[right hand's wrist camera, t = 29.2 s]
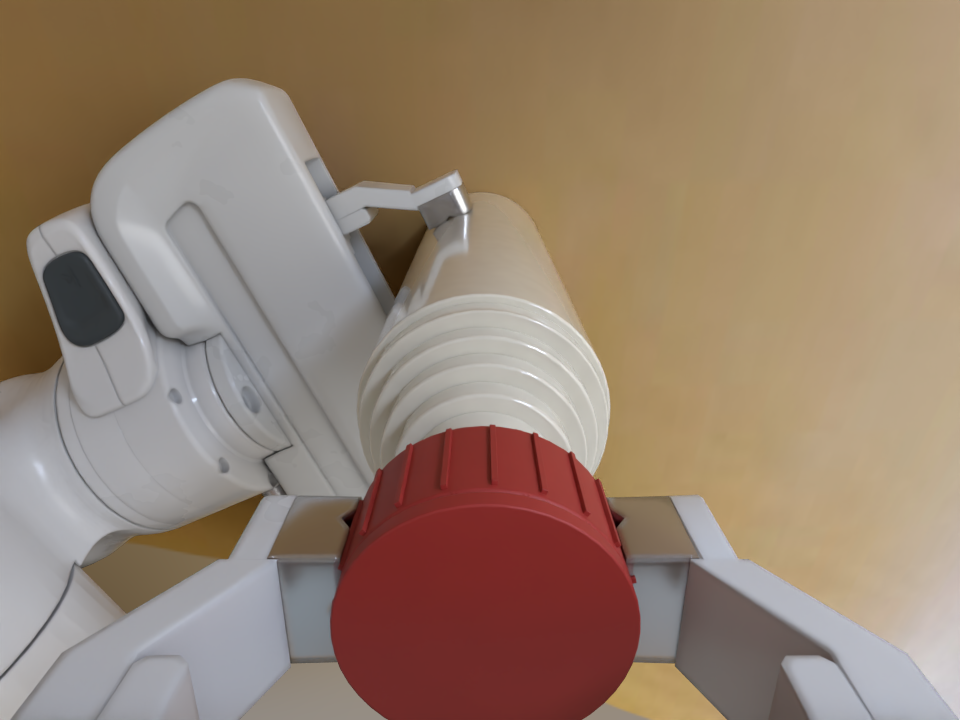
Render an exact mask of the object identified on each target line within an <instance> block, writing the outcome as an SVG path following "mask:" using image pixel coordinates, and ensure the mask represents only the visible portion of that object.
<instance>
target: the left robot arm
mask: <svg viewBox="0 0 960 720" xmlns="http://www.w3.org/2000/svg"><path fill="white" fill-rule="evenodd" d="M472 206H473V204H472V202H471V199H470V197H469V195H468V192H467V190H466V188H465V185H464V183H463V182H462V179H461V177H460V174H459V172H458V170H457V169H456V170H454V171H451V172H448V173H446V174H444V175H442V176H440V177H438V178H436V179H434V180H432V181H430V182H428V183H426V184H423V185H421V186H419V187H417V188H415V187H414V185H405V184H395V183H385V182H374V181H362V182H360V183H358V184H356V185H354V186H352V187H350V188H348V189H346V190H344V191H341V192H339V191H338V189H337V187H336V185H335V183H334V181H333V179H332V177H331V175H330V173H329V172H328V170H327V168H326V166H325V164H324V162H323V160H322V158H321V156H320V154H319V153H318V151H317V149H316V147H315V145H314V143H313V141H312V139H311V137H310V135H309V134H308V132H307V130H306V128H305V126H304V124H303V122H302V120H301V118H300V116H299V115H298V113H297V111H296V109H295V107H294V105H293V103H292V101H291V99H290V98H289V96H288V95H287V93H286V92H285V91H283V90H282V89H280V88H278V87H275V86H273V85H270V84H267V83H264V82H261V81H257V80H253V79H248V78H234V79H229V80H225V81H222V82H220V83H217V84H215V85H213V86H211V87H210V88H208V89H206V90H204V91H202V92H200V93H199V94H197V95H195V96H194V97H192V98H191V99H189V100H187V101H186V102H184V103H182V104H181V105H179V106H178V107H176V108H175V109H173V110H172V111H170V112H169V113H167V114H166V115H164V116H163V117H161V118H160V119H159V120H157V121H156V122H155V123H153V124H152V125H150V126H149V127H148V128H146V129H145V130H144V131H142V132H141V133H140V134H139V135H137V136H136V137H135V138H134V139H132V140H131V141H130V142H128V143H127V144H126V145H125V146H124V147H122V148H121V149H120V150H119V151H118V152H117V153H116V154H115V155H113V156H112V157H111V158H110V159H109V160H108V162H107V163H106V164H105V165H104V166H103V168H102V169H101V171H100V172H99V174H98V176H97V177H96V179H95V182H94V184H93V187H92V192H91V198H90V203H88V204H85V205H82V206H79V207H76V208H74V209H71V210H69V211H66V212H64V213H62V214H60V215H58V216H56V217H54V218H52V219H50V220H48V221H46V222H44V223H43V224H41V225H39V226H37V227H36V228H35V229H33V230H32V231H31V232H30V234H29V235H28V238H27V253H28V257H29V260H30V263H31V266H32V269H33V271H34V274H35V276H36V279H37V281H38V284H39V287H40V289H41V292H42V295H43V297H44V300H45V303H46V305H47V308H48V311H49V314H50V317H51V320H52V323H53V325H54V329H55V332H56V335H57V338H58V341H59V344H60V348H61V352H62V355H63V356H62V357H61V358H60V359H59V360H58V361H57V362H56V363H55V364H54V365H53V366H52V367H51V368H50V369H48V370H47V371H44V372H42V373H34V374H27V375H22V376H17V377H13V378H10V379H7V380H4V381H2V382H0V720H10V719H11V718H12V717H13V715H14V714H15V713H16V711H17V710H18V709H19V707H20V706H21V705H22V704H23V702H24V701H25V700H26V698H27V697H28V696H29V695H30V693H31V692H32V691H33V689H34V688H35V687H36V685H37V684H38V683H39V682H40V680H41V679H42V678H43V676H44V675H45V674H46V673H47V671H48V670H49V669H50V667H51V666H52V665H53V663H54V662H55V661H56V660H57V658H58V657H59V656H60V654H61V653H62V652H64V651H65V650H67V649H69V648H70V647H72V646H74V645H75V644H77V643H79V642H80V641H82V640H84V639H85V638H87V637H89V636H90V635H92V634H94V633H95V632H97V631H99V630H101V629H102V628H104V627H106V626H107V625H109V624H111V623H112V622H114V621H116V620H117V619H119V618H121V617H122V616H124V615H126V613H125V612H124V611H123V610H122V609H121V608H120V607H119V606H118V605H117V604H116V603H115V602H114V601H113V600H112V599H111V598H110V597H109V596H108V595H107V594H106V593H105V592H104V591H103V590H102V589H101V588H100V587H99V586H98V585H97V584H96V583H95V582H94V581H93V580H92V579H91V578H90V577H89V576H88V575H87V574H86V573H85V572H84V571H83V570H82V569H81V568H83V567H86V566H88V565H91V564H93V563H95V562H97V561H99V560H101V559H103V558H105V557H107V556H109V555H110V554H112V553H113V552H115V551H116V550H117V549H118V548H120V547H121V546H122V545H123V544H125V543H126V542H127V541H128V540H129V539H130V538H132V537H134V536H137V535H148V534H157V533H163V532H167V531H170V530H174V529H177V528H180V527H182V526H184V525H187V524H189V523H191V522H194V521H196V520H199V519H201V518H204V517H206V516H208V515H211V514H213V513H216V512H218V511H220V510H223V509H225V508H227V507H229V506H232V505H235V504H237V503H239V502H242V501H244V500H247V499H249V498H251V497H254V496H256V495H259V494H262V496H263V497H266V496H268V495H297V496H300V495H303V496H352V497H362V499H364V497H365V495H366V493H367V491H368V489H369V487H370V485H371V484H372V482H373V481H374V477H375V476H374V475H373V473H372V471H371V469H370V468H369V466H368V463H367V461H366V458H365V456H364V453H363V449H362V445H361V441H360V434H359V428H358V421H357V411H356V410H357V394H358V389H359V384H360V380H361V377H362V374H363V371H364V368H365V366H366V363H367V361H368V359H369V357H370V354H371V352H372V350H373V348H374V345H375V343H376V341H377V339H378V336H379V334H380V332H381V330H382V328H383V325H384V323H385V321H386V319H387V316H388V314H389V312H390V310H391V307H392V305H393V303H394V301H395V297H394V295H393V293H392V291H391V289H390V287H389V286H388V284H387V282H386V280H385V278H384V276H383V274H382V272H381V270H380V268H379V267H378V265H377V263H376V261H375V259H374V257H373V255H372V253H371V251H370V249H369V248H368V246H367V244H366V242H365V240H364V238H363V236H362V234H361V232H360V230H359V228H361V227H363V226H365V225H367V224H369V223H370V222H371V221H372V220H373V219H374V218H375V217H376V216H377V215H378V212H379V210H378V208H388V209H402V210H415V211H418V210H419V211H420V213H421V215H422V217H423V219H424V221H425V223H426V225H427V227H428V229H429V230H431V229H433V228H435V227H437V226H439V225H441V224H443V223H444V222H446V221H447V219H448V217H449V216H450V217H456V216H460V215H463V214H465V213H467V212H469V211H470V210H471V209H472V208H473V207H472Z"/></svg>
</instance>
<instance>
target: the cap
mask: <svg viewBox="0 0 960 720" xmlns="http://www.w3.org/2000/svg"><path fill="white" fill-rule="evenodd" d="M620 546H621V543H620V540H619V537H618V534H617V530H616V527H615V524H614V521H613V518H612V515H611V512H610V509H609V506H608V502H607V499H606V496H605V493H604V490H603V487H602V484H601V482H600V480H599V479H597V480H595V479H594V478H593V476H592V475H591V474H590V472H589V471H588V470H587V469H586V468H585V467H584V466H583V465H582V464H581V463H580V462H579V461H578V460H577V459H576V456H575V454H574V453H573V452H572V451H570V452H569V453H568V452H567V451H566V450H564V449H562V448H561V447H559V446H557V445H556V444H554V443H552V442H550V441H548V440H546V439H544V438H541V437H539V435H538V434H537V433H534V432H533V434H531V433H528V432H524V431H521V430H517V429H511V428H505V427H496V425H491V424H490V426H475V427H463V428H457V429H453V430H452V429H451V428H449V429H446V431H445V432H442V433H439V434H436V435H433V436H430V437H428V438H426V439H424V440H421V441H419V442H417V443H415V444H413V445H412V444H411V443H410V444H408V445H407V446H406V450H404V451H402V452H401V453H399V454H398V455H397V456H396V457H395V458H394V459H392V460H391V461H390V462H389V463H388V464H387V465H386V466H385V467H384V468H383V469H380V468H379V469H378V470H377V471H376V474H375V477H374V481H373V482H372V484H371V485H370V487H369V489H368V491H367V493H366V495H365V497H364V499H363V500H360V501H359V504H358V507H357V511H356V513H355V515H354V517H353V520H352V524H351V527H350V534H349V537H348V540H347V543H346V546H345V549H344V552H343V555H342V559H341V562H340V563H339V566H338V570H341V571H342V572H341V576H340V579H339V582H338V586H337V589H336V592H335V596H334V599H333V601H332V607H331V616H330V634H331V641H332V645H333V650H334V654H335V657H336V659H337V662H338V664H339V667H340V669H341V671H342V673H343V674H344V676H345V678H346V679H347V681H348V683H349V684H350V685H351V687H352V688H353V689H354V690H355V692H356V693H357V694H358V695H359V696H360V697H361V698H362V699H363V700H364V701H365V702H366V703H367V704H368V705H369V706H370V707H371V708H372V709H374V710H375V711H376V712H378V713H379V714H380V715H382V716H383V717H384V718H386V719H388V720H582V719H584V718H585V717H587V716H588V715H590V714H591V713H593V712H594V711H595V710H596V709H597V708H599V707H600V706H601V705H602V704H604V703H605V702H606V701H607V699H608V698H609V697H610V696H611V695H612V694H613V693H614V692H615V691H616V690H617V688H618V687H619V686H620V684H621V683H622V681H623V680H624V679H625V677H626V675H627V673H628V671H629V669H630V667H631V666H632V663H633V661H634V658H635V655H636V652H637V649H638V644H639V638H640V628H641V616H640V610H639V604H638V599H637V596H636V593H635V590H634V587H633V584H634V583H637V582H636V578H635V576H634V577H630V574H629V571H628V568H627V565H626V562H625V559H624V556H623V553H622V550H621V547H620Z"/></svg>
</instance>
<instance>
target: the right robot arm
mask: <svg viewBox="0 0 960 720" xmlns="http://www.w3.org/2000/svg"><path fill="white" fill-rule="evenodd" d="M606 499H607V502H608V506H609V509H610V512H611V515H612V518H613V521H614V524H615V527H616V530H617V534H618V537H619V540H620V543H621V546H620V547H621V550H622V553H623V556H624V559H625V562H626V565H627V568H628V571H629V574H630V577H634V576H635V578H636V582H637V583H634V584H633V587H634V590H635V593H636V596H637V599H638V604H639V610H640V616H641V628H640V638H639V644H638V649H637V652H636V655H635V658H634V661H633V662H644V663H675V667H676V668H677V669H678V670H679V671H680V672H681V673H682V674H683V675H684V676H685V677H686V678H687V679H688V680H689V681H690V682H691V683H692V684H693V685H694V686H695V687H696V688H697V689H698V690H699V691H700V692H701V693H702V694H703V695H704V696H705V697H706V698H707V699H708V700H709V701H710V702H711V703H712V704H713V705H714V707H715V708H716V709H717V710H718V711H719V712H720V713H721V714H722V715H723V716H724V717H725V718H726V719H727V720H959V719H958V718H957V717H956V715H955V714H954V713H953V711H952V710H951V709H950V708H949V706H948V705H947V704H946V702H945V701H944V700H943V699H942V697H941V696H940V695H939V693H938V692H937V691H936V690H935V688H934V687H933V686H932V685H931V683H930V682H929V681H928V679H927V678H926V677H925V676H924V674H923V673H922V672H921V670H920V669H919V668H918V667H917V665H916V664H915V663H914V662H913V660H912V659H911V658H910V656H909V655H908V654H907V653H906V652H904V651H902V650H900V649H899V648H897V647H895V646H894V645H892V644H890V643H889V642H887V641H885V640H884V639H882V638H880V637H879V636H877V635H875V634H873V633H872V632H870V631H868V630H867V629H865V628H863V627H862V626H860V625H858V624H857V623H855V622H853V621H852V620H850V619H848V618H846V617H845V616H843V615H841V614H840V613H838V612H836V611H835V610H833V609H831V608H830V607H828V606H826V605H825V604H823V603H821V602H820V601H818V600H816V599H814V598H813V597H811V596H809V595H808V594H806V593H804V592H803V591H801V590H799V589H798V588H796V587H794V586H793V585H791V584H789V583H787V582H786V581H784V580H782V579H781V578H779V577H777V576H776V575H774V574H772V573H771V572H769V571H767V570H766V569H764V568H762V567H761V566H759V565H757V564H755V563H754V562H752V561H750V560H749V559H738V557H737V556H736V554H735V552H734V551H733V549H732V547H731V545H730V544H729V542H728V540H727V539H726V537H725V535H724V533H723V532H722V530H721V528H720V527H719V525H718V523H717V522H716V520H715V518H714V516H713V515H712V513H711V511H710V510H709V508H708V506H707V504H706V503H705V501H704V499H703V498H702V497H700V496H699V495H678V496H656V497H612V498H606ZM360 500H363V499H362V497H352V496H303V495H300V496H297V495H268V496H266V497H264V498H263V499H262V500H261V501H260V503H259V505H258V507H257V508H256V510H255V512H254V514H253V516H252V517H251V519H250V521H249V523H248V524H247V526H246V528H245V530H244V531H243V533H242V535H241V537H240V539H239V540H238V542H237V544H236V546H235V547H234V549H233V551H232V553H231V555H230V556H229V558H228V559H218V560H216V561H215V562H213V563H211V564H209V565H208V566H206V567H204V568H203V569H201V570H199V571H198V572H196V573H194V574H193V575H191V576H189V577H188V578H186V579H184V580H183V581H181V582H179V583H178V584H176V585H174V586H173V587H171V588H169V589H168V590H166V591H164V592H163V593H161V594H159V595H157V596H156V597H154V598H152V599H151V600H149V601H147V602H146V603H144V604H142V605H141V606H139V607H137V608H136V609H134V610H132V611H131V612H129V613H127V614H126V615H124V616H122V617H121V618H119V619H117V620H116V621H114V622H112V623H111V624H109V625H107V626H106V627H104V628H102V629H101V630H99V631H97V632H95V633H94V634H92V635H90V636H89V637H87V638H85V639H84V640H82V641H80V642H79V643H77V644H75V645H74V646H72V647H70V648H69V649H67V650H65V651H64V652H62V653H61V654H60V656H59V657H58V658H57V660H56V661H55V662H54V663H53V665H52V666H51V667H50V669H49V670H48V671H47V673H46V674H45V675H44V676H43V678H42V679H41V680H40V682H39V683H38V684H37V685H36V687H35V688H34V689H33V691H32V692H31V693H30V695H29V696H28V697H27V698H26V700H25V701H24V702H23V704H22V705H21V706H20V707H19V709H18V710H17V711H16V713H15V714H14V715H13V717H12V718H11V719H10V720H240V719H241V718H242V716H243V715H244V714H245V713H246V712H247V711H248V710H249V709H250V708H251V707H252V706H253V705H254V704H255V703H256V702H257V701H258V700H259V699H260V698H261V697H262V696H263V695H264V694H265V693H266V692H267V691H268V690H269V689H270V688H271V687H272V686H273V685H274V684H275V683H276V682H277V680H278V679H279V678H280V677H281V676H282V675H283V674H284V673H285V672H286V671H287V670H288V669H289V668H290V667H291V664H290V663H320V662H337V659H336V657H335V654H334V650H333V645H332V641H331V634H330V616H331V607H332V601H333V599H334V596H335V592H336V589H337V586H338V582H339V579H340V576H341V572H342V571H341V570H338V566H339V563H340V562H341V559H342V555H343V552H344V549H345V546H346V543H347V540H348V537H349V534H350V527H351V524H352V520H353V517H354V515H355V513H356V511H357V507H358V504H359V501H360Z"/></svg>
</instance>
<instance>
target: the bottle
mask: <svg viewBox="0 0 960 720" xmlns="http://www.w3.org/2000/svg"><path fill="white" fill-rule="evenodd" d="M468 195H469V197H470V199H471V202H472V204H473V206H472V207H473V208H472V209H471V210H470V211H469V212H467V213H465V214H463V215H460V216H456V217H450V216H449V217H448V219H447V221H446V222H444V223H443V224H441V225H439V226H437V227H435V228H433V229H431V230H429V229H428V227H427V229H426V232H425V234H424V236H423V238H422V241H421V243H420V245H419V247H418V249H417V252H416V254H415V256H414V258H413V261H412V263H411V265H410V267H409V270H408V272H407V274H406V276H405V278H404V281H403V283H402V285H401V287H400V290H399V292H398V294H397V296H396V299H395V301H394V303H393V305H392V307H391V310H390V312H389V314H388V316H387V319H386V321H385V323H384V325H383V328H382V330H381V332H380V334H379V336H378V339H377V341H376V343H375V345H374V348H373V350H372V352H371V354H370V357H369V359H368V361H367V363H366V366H365V368H364V371H363V374H362V377H361V380H360V384H359V389H358V394H357V410H356V411H357V421H358V428H359V434H360V441H361V445H362V449H363V453H364V456H365V458H366V461H367V463H368V466H369V468H370V469H371V471H372V473H373V475H374V476H375V474H376V471H377V470H378V469H379V468H380V469H383V468H384V467H385V466H386V465H387V464H388V463H389V462H390V461H391V460H392V459H394V458H395V457H396V456H397V455H398V454H399V453H401V452H402V451H404V450H406V446H407V445H408V444H410V443H411V444H412V445H413V444H415V443H417V442H419V441H421V440H424V439H426V438H428V437H430V436H433V435H436V434H439V433H442V432H445V431H446V429H449V428H451V429H452V430H453V429H457V428H463V427H475V426H490V424H491V425H496V427H505V428H511V429H517V430H521V431H524V432H528V433H531V434H533V432H534V433H537V434H538V435H539V437H541V438H544V439H546V440H548V441H550V442H552V443H554V444H556V445H557V446H559V447H561V448H562V449H564V450H566V451H567V452H568V453H569V452H570V451H572V452H573V453H574V454H575V456H576V459H577V460H578V461H579V462H580V463H581V464H582V465H583V466H584V467H585V468H586V469H587V470H588V471H589V472H590V474H591V475H592V476H593V475H594V473H595V471H596V469H597V467H598V465H599V463H600V461H601V458H602V455H603V453H604V450H605V446H606V441H607V436H608V426H609V422H610V395H609V389H608V384H607V380H606V376H605V374H604V371H603V368H602V366H601V363H600V361H599V359H598V357H597V355H596V353H595V350H594V348H593V346H592V344H591V342H590V340H589V338H588V336H587V334H586V331H585V329H584V327H583V325H582V323H581V321H580V319H579V317H578V314H577V312H576V310H575V308H574V306H573V304H572V302H571V300H570V298H569V295H568V293H567V291H566V289H565V287H564V285H563V283H562V281H561V278H560V276H559V274H558V272H557V270H556V268H555V266H554V264H553V262H552V259H551V257H550V255H549V253H548V251H547V249H546V247H545V245H544V242H543V240H542V238H541V236H540V234H539V232H538V230H537V228H536V226H535V224H534V222H533V220H532V219H531V217H530V216H529V215H528V213H527V212H526V211H525V210H524V209H523V208H522V207H521V206H519V205H518V204H517V203H515V202H514V201H512V200H510V199H509V198H506V197H504V196H501V195H498V194H494V193H487V192H476V193H470V194H468Z"/></svg>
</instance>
